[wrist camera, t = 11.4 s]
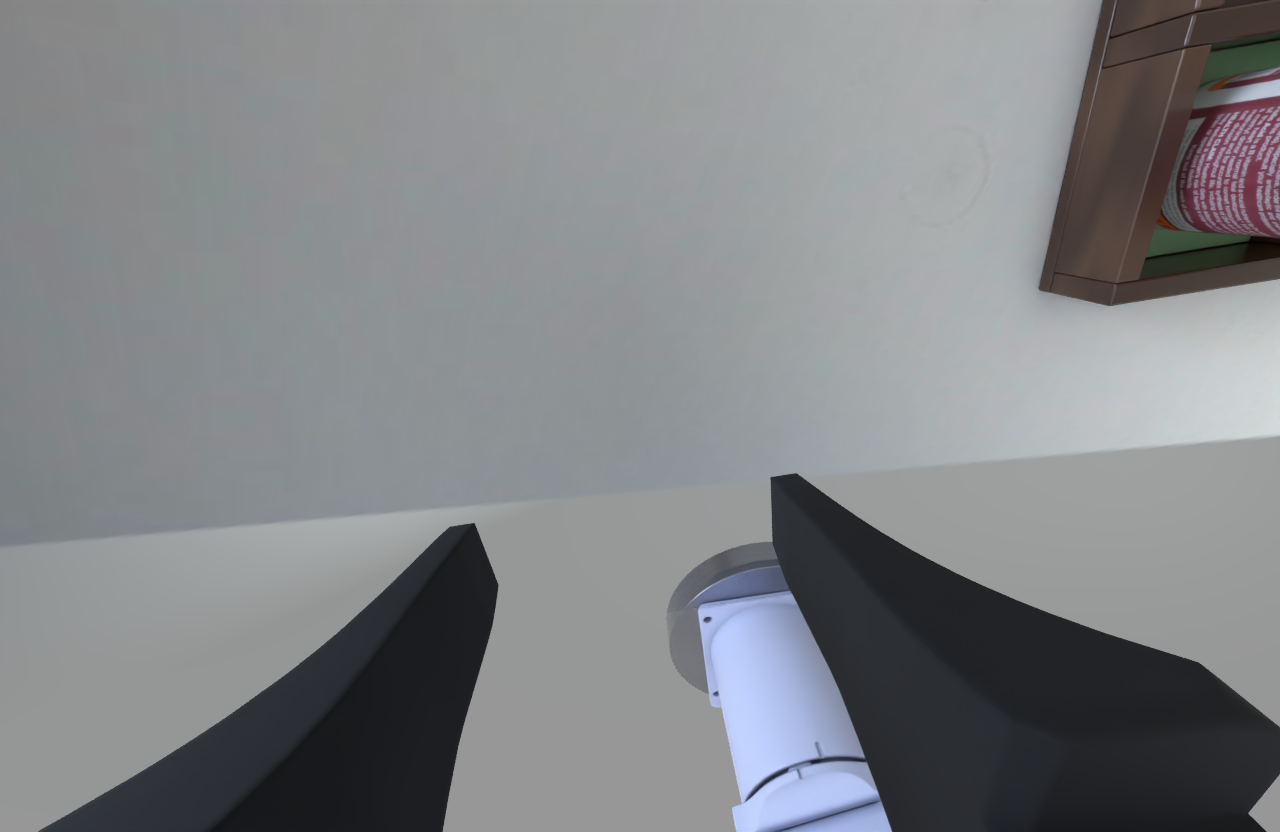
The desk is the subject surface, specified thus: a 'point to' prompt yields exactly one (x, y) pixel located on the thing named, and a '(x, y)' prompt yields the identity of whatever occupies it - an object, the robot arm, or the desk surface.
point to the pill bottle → (1229, 160)
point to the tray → (1153, 152)
